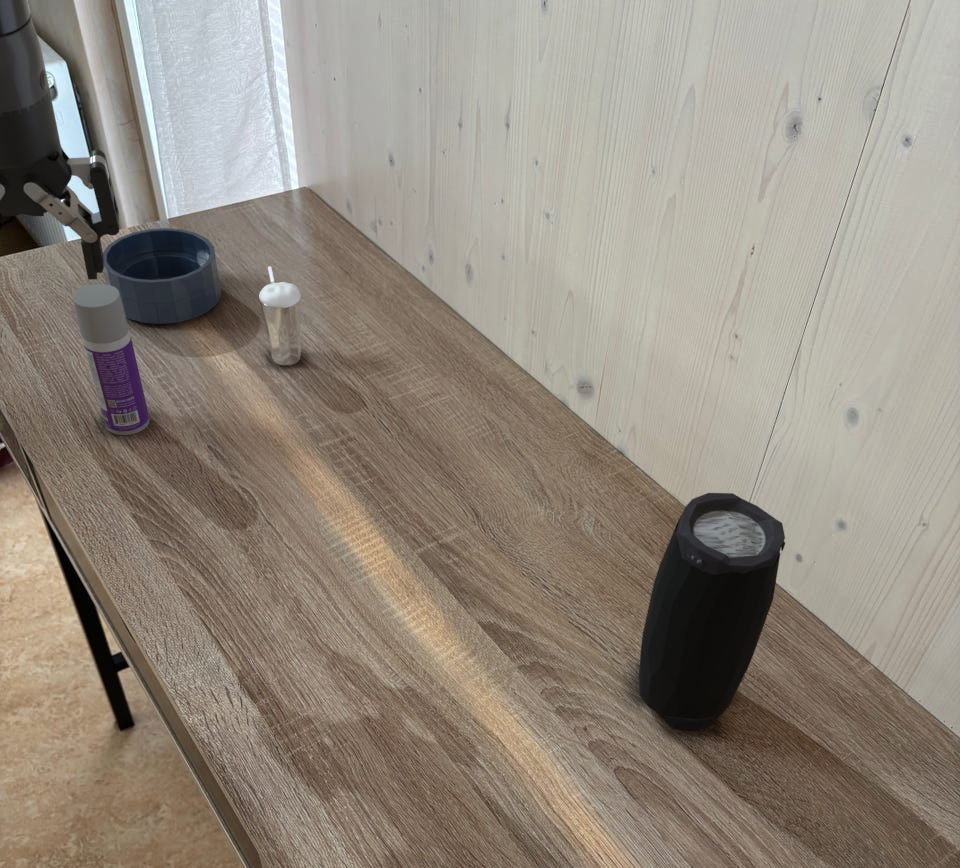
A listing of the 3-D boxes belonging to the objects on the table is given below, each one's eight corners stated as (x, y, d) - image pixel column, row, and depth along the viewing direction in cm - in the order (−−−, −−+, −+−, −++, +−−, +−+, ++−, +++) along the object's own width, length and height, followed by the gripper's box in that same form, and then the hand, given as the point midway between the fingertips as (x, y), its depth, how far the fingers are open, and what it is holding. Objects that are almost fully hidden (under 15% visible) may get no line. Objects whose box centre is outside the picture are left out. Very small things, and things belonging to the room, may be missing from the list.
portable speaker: (754, 698, 91) (818, 528, 76) (684, 755, 86) (738, 587, 72) (678, 641, 95) (726, 471, 80) (608, 693, 90) (645, 523, 76)
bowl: (112, 332, 125) (101, 286, 120) (112, 277, 133) (102, 231, 129) (225, 323, 127) (218, 277, 123) (218, 269, 136) (211, 224, 131)
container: (158, 415, 114) (130, 288, 103) (135, 439, 111) (103, 312, 100) (120, 405, 115) (88, 279, 104) (96, 429, 112) (61, 301, 101)
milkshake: (296, 341, 125) (288, 262, 118) (311, 364, 122) (304, 285, 115) (259, 348, 124) (249, 269, 117) (274, 372, 121) (264, 292, 113)
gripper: (96, 57, 79) (126, 247, 92) (-111, 52, 76) (-49, 249, 89) (96, 110, 75) (128, 301, 88) (-123, 106, 72) (-56, 305, 85)
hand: (39, 274), depth 88 cm, fingers open, 8 cm apart
